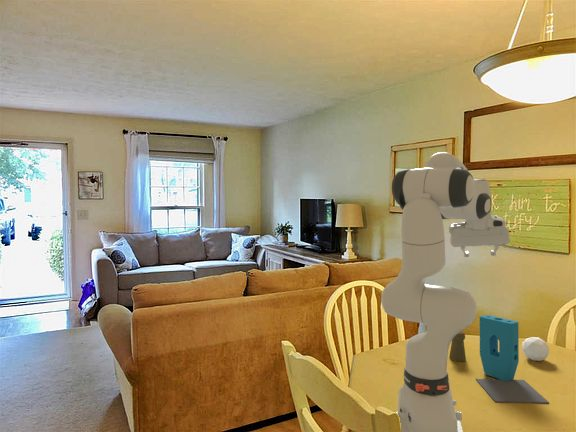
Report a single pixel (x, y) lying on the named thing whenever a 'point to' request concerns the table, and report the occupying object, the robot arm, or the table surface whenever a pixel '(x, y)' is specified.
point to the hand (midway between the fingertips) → (479, 256)
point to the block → (508, 355)
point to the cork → (458, 348)
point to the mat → (511, 391)
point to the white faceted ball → (535, 348)
